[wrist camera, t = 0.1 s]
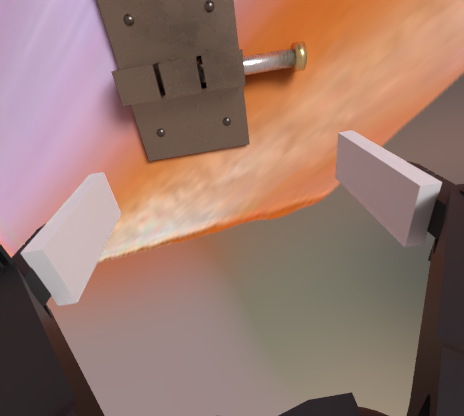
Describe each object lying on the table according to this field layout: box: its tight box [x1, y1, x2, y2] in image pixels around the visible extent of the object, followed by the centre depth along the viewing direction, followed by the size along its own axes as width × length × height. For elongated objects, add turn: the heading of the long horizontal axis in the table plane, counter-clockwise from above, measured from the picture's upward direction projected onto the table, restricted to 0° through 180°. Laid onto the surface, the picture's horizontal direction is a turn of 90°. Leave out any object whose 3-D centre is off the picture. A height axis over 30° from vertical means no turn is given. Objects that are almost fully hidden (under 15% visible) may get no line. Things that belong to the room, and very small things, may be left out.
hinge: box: [97, 0, 249, 161], centre depth 36 cm, size 16×22×4 cm
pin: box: [197, 41, 307, 83], centre depth 36 cm, size 17×3×3 cm, turn 98°
